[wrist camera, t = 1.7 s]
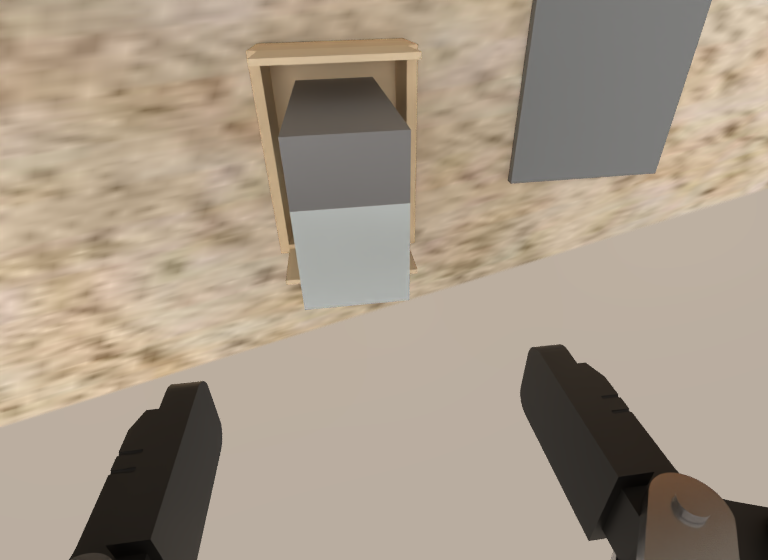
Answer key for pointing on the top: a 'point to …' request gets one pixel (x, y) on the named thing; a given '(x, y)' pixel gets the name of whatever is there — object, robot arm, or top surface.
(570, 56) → the mat
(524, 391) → the robot arm
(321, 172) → the box
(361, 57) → the carton
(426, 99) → the top surface
